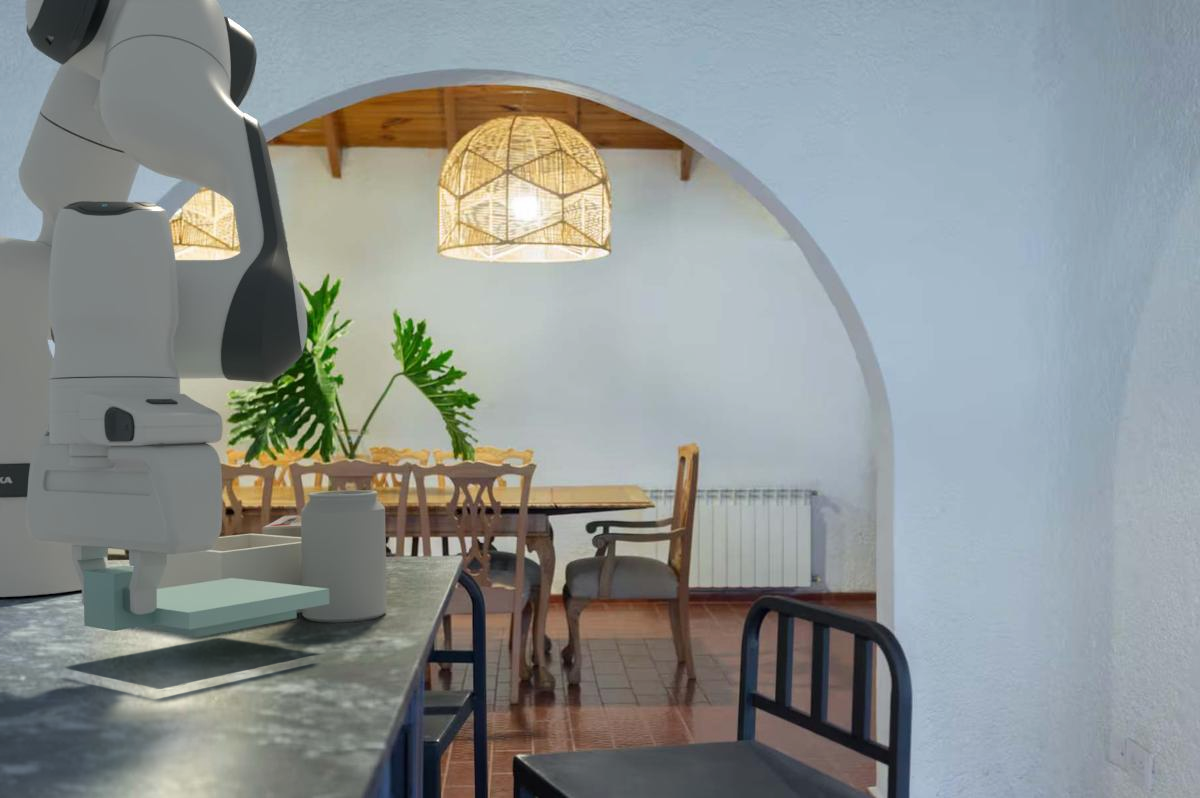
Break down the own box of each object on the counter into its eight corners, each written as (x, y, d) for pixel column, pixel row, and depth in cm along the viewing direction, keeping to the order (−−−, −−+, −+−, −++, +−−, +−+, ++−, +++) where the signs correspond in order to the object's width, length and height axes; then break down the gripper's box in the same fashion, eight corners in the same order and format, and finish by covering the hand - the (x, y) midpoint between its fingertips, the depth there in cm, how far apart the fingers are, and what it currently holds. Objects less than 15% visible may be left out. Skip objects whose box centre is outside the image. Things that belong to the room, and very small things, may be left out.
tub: (144, 620, 109) (143, 545, 109) (252, 602, 118) (251, 533, 118) (221, 633, 102) (220, 552, 102) (330, 612, 111) (329, 539, 111)
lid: (53, 633, 87) (52, 567, 87) (232, 603, 100) (231, 545, 100) (149, 651, 80) (148, 578, 80) (329, 616, 92) (328, 553, 92)
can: (402, 617, 108) (401, 488, 108) (353, 632, 101) (351, 493, 101) (337, 613, 111) (335, 487, 111) (284, 626, 104) (283, 492, 104)
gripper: (2, 421, 89) (4, 604, 88) (156, 418, 76) (159, 629, 76) (81, 420, 94) (83, 592, 93) (237, 416, 81) (240, 615, 81)
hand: (119, 609), depth 85 cm, fingers closed on lid, 4 cm apart
